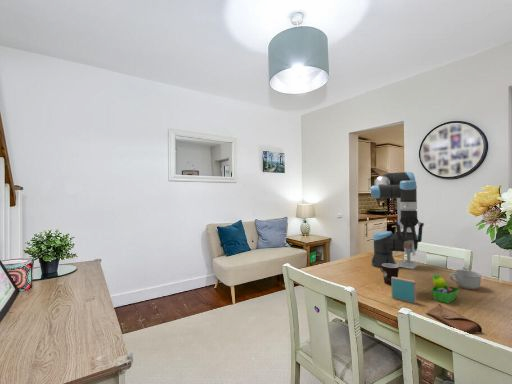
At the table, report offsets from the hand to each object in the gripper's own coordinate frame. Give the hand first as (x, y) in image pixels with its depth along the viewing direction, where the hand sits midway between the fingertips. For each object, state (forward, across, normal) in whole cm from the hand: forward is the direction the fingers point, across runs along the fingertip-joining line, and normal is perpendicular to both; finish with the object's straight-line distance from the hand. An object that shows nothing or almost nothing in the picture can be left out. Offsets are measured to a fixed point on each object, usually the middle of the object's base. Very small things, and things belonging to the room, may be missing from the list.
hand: (409, 254), depth 135 cm
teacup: (+19, +20, +21) cm, 35 cm away
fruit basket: (+19, +14, -3) cm, 24 cm away
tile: (+19, +1, -16) cm, 25 cm away
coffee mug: (+19, -12, +5) cm, 23 cm away
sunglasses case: (+19, +20, -27) cm, 39 cm away
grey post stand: (+4, 0, -3) cm, 5 cm away
